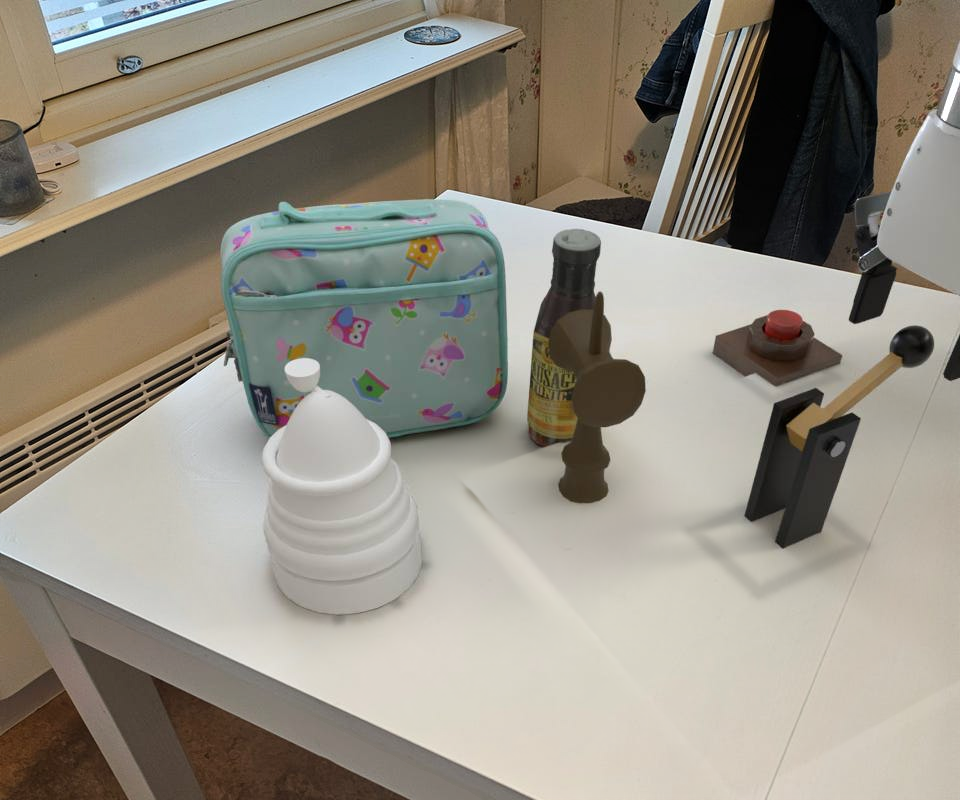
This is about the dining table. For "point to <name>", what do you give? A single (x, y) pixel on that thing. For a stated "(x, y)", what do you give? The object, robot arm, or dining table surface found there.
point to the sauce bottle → (566, 294)
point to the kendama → (592, 397)
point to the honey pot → (337, 505)
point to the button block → (774, 353)
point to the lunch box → (370, 310)
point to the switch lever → (866, 381)
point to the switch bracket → (800, 469)
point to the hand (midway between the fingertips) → (910, 345)
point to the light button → (783, 325)
